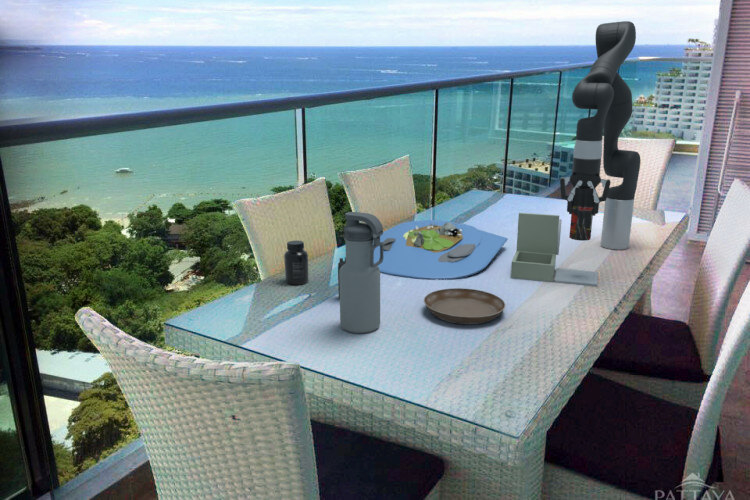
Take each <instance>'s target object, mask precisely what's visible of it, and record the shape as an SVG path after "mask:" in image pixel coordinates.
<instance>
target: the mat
mask: <svg viewBox="0 0 750 500" xmlns="http://www.w3.org/2000/svg"><path fill="white" fill-rule="evenodd" d="M598 274H599V272H598V271H592V270H581V269H571V268H561V267H556V268H555V273H554V278H553V281H554V283H559V284H560V283H561V284H569V285H580V286H587V287H588V286H591V287H598V285H599V281H598V279H599V275H598Z"/></svg>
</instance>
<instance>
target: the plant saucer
mask: <svg viewBox="0 0 750 500" xmlns="http://www.w3.org/2000/svg"><path fill="white" fill-rule="evenodd" d="M423 303H424V304H425V306H426V308H427V310H428V311H429V312H430V313H431V314H432V315H433V316H435V317H436V318H438V319H439V320H442V321H445V322H448V323H453V324H458V325H480V324H484V323H489V322H491V321H492V320H494V319H495V318H498V316H500V315H501V314H502V313H503V311H504V310H505V308H506V303H505V301H504V299H502V298H501V297H499V296H498V295H496V294H494V293H491V292H487V291H484V290H479V289H472V288H461V287H460V288H459V287H458V288H457V287H456V288H452V287H451V288H443V289H437V290H435V291H432V292H430V293H428V294H427V295H425V296H424V299H423Z"/></svg>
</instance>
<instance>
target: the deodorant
mask: <svg viewBox="0 0 750 500" xmlns="http://www.w3.org/2000/svg"><path fill="white" fill-rule="evenodd" d="M594 189H596V188H594ZM594 189H589V188H575V195H574V197H573V199H572V200H573V201H572V214H570V227H569V238H570V240H574V241H582V242H583V241H584V242H585V241H590V240H591V237H592V230H593V229H592V227H593V208H594V202H595V201H594V196H593V192H594V191H593V190H594Z"/></svg>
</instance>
